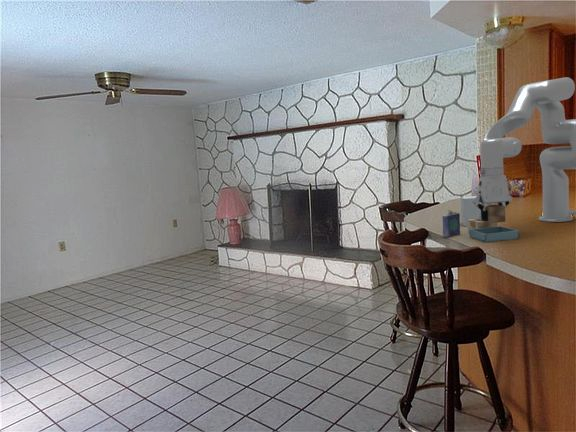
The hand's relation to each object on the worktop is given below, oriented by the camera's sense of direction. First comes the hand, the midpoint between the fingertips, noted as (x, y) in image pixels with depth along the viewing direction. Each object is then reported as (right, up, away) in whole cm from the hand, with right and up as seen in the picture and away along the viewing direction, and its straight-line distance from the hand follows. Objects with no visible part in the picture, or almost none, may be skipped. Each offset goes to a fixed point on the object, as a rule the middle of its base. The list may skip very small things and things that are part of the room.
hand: (493, 219), depth 160 cm
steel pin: (+2, -5, +13) cm, 14 cm away
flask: (-11, -7, +11) cm, 18 cm away
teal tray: (+1, -7, +1) cm, 7 cm away
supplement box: (+5, -3, +30) cm, 31 cm away
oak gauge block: (+2, -5, +13) cm, 14 cm away
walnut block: (0, -1, 0) cm, 1 cm away
